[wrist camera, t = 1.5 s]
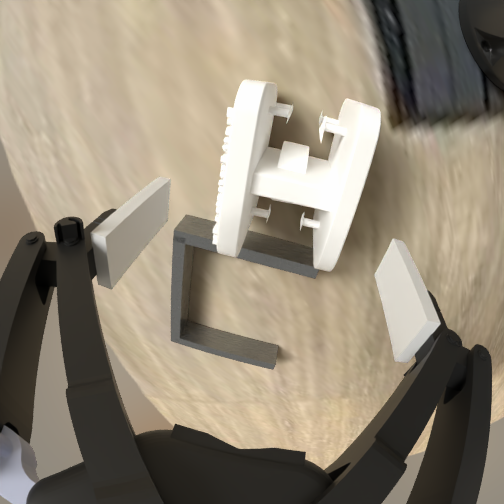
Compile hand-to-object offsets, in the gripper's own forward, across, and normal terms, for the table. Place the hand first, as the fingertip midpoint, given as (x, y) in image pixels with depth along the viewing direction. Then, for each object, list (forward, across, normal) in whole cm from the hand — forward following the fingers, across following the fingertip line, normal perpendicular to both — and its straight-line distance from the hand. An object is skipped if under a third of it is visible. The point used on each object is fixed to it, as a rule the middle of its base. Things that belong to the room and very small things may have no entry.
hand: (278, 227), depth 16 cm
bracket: (+17, -2, -21) cm, 27 cm away
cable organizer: (+17, 0, 0) cm, 17 cm away
